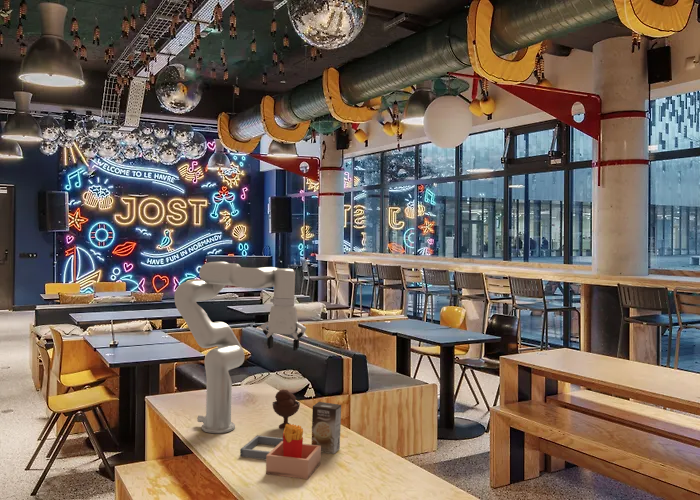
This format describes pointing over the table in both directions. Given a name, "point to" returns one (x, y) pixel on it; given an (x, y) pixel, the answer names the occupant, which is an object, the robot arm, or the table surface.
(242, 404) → the table surface
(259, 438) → the gray rectangular frame
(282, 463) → the pink open box
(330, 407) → the coffee box
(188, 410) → the table surface
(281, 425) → the ice cream bowl
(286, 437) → the french fries
